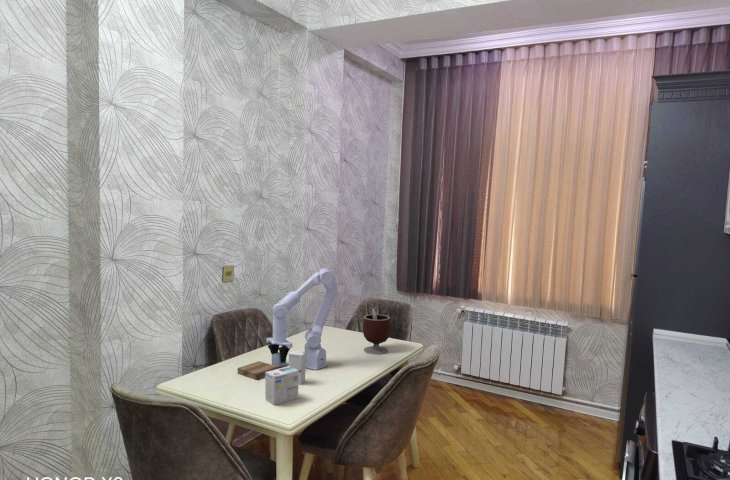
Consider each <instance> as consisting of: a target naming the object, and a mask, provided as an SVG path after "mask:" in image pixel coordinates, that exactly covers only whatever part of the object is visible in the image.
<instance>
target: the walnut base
mask: <svg viewBox="0 0 730 480" xmlns="http://www.w3.org/2000/svg"><path fill="white" fill-rule="evenodd" d="M276 369H279V367H278V366H275V365H272V363H271V364H270V363H267V362H263V361H259V360H258V361H256V362H253V363H252V362H251V363H249V364H246V365H242V366H240V367H237V375H240V376H243V377H246V378H249V379H252V380H255V381H259V380H261V379H265V372H267V371H272V370H276Z"/></svg>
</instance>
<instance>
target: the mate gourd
mask: <svg viewBox="0 0 730 480" xmlns="http://www.w3.org/2000/svg"><path fill="white" fill-rule="evenodd" d="M371 310H372V312H371V313H372V314H367V315H364V317H363V320H362V321H363V322H362V332H363V333H362V335H363V337H364V338H365V340H366V341H367V342H368V343H370V344H372V345H371V346H367V347H364V348H363V352H364V353H366V354H369V355H376V356H377V355H378V356H379V355H385V354H386V355H387V354H388V353H389V348H387V347H384V346H380V344H383V343H385V342H387V340H388V339H389V338H390V336H391V335H390V334H391V318H390V316H388V315H385V314H378V313H377V312H376V310H375V309H374V307H372V308H371Z"/></svg>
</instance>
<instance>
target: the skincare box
mask: <svg viewBox="0 0 730 480" xmlns="http://www.w3.org/2000/svg"><path fill="white" fill-rule="evenodd" d="M288 366H290V367H292V368H295V369H297V370H298V385H303V384H304V383H305V382H306V372H307V371H306V353H305V351H304V352H303V351H297V350H293V351H291V352H288Z"/></svg>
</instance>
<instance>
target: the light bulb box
mask: <svg viewBox="0 0 730 480" xmlns="http://www.w3.org/2000/svg"><path fill="white" fill-rule="evenodd" d="M264 379H265V392H264V393H265V400H264V401H267V403H270V404H271V405H273V406H276V405H279V404H283V403H285V402H290V401H293V400H296V399H298V398H299V384H298V370H297V369H295V368H292V367H290V366H289V365H288V366H285V367H280V368H278V369H276V370H272V371H267V372H265V378H264Z"/></svg>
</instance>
